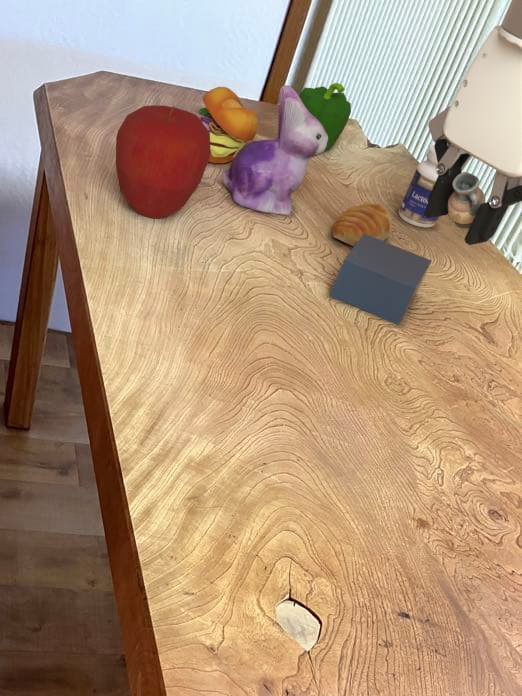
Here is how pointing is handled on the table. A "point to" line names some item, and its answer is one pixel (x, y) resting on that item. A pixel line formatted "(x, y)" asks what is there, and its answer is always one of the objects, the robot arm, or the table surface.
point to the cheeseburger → (226, 123)
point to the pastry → (363, 223)
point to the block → (380, 278)
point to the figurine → (277, 159)
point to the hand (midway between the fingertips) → (455, 226)
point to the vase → (465, 201)
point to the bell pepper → (328, 109)
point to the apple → (160, 158)
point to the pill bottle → (420, 192)
